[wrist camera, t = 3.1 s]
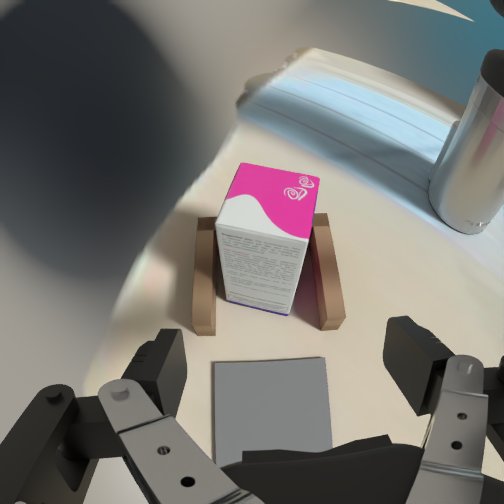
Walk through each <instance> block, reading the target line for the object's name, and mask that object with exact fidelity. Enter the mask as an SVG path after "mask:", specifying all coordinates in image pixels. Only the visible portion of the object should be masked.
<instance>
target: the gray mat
mask: <svg viewBox="0 0 504 504" xmlns="http://www.w3.org/2000/svg"><path fill="white" fill-rule="evenodd" d="M215 444H216V465H217V466H218V467H219V468H220V467H223V466H225V465H228V464H232V463H235V462H239V461H242V451H252V450H275V449H283V450H293V451H304V452H323V451H326V450H329V449H332V432H331V419H330V406H329V394H328V383H327V373H326V363H325V358H313V359H300V360H285V361H266V362H236V363H215Z"/></svg>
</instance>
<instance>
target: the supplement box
mask: <svg viewBox="0 0 504 504" xmlns="http://www.w3.org/2000/svg"><path fill="white" fill-rule="evenodd" d="M319 181H320V178H318V177H314V176H310V175H305V174H300V173H294V172H289V171H284V170H279V169H274V168H269V167H264V166H259V165H253V164H248V163H241V164H240V166H239V168H238V170H237V172H236V174H235V176H234V179H233V181H232V183H231V185H230V188H229V190H228V193H227V195H226V198H225V200H224V202H223V205H222V207H221V210H220V213H219V215H218V217H217V220H216V222H215V226H216V233H217V240H218V246H219V254H220V260H221V267H222V273H223V279H224V285H225V292H226V301H227V302H230V303H233V304H237V305H242V306H246V307H250V308H255V309H258V310H263V311H267V312H271V313H275V314H280V315H284V316H288V315H289V312H290V309H291V306H292V302H293V299H294V295H295V291H296V288H297V284H298V281H299V277H300V273H301V269H302V265H303V261H304V257H305V253H306V249H307V245H308V242H309V237H310V232H311V227H312V222H313V217H314V211H315V205H316V199H317V193H318V187H319Z"/></svg>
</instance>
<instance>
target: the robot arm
mask: <svg viewBox="0 0 504 504" xmlns="http://www.w3.org/2000/svg"><path fill="white" fill-rule="evenodd" d="M490 2H491V4H492V6H493V8H494V9H495V10H496V11H497V12H498V13H499V14H500V15H501V16H503V17H504V0H490ZM428 178H429V180H430V186H429V190H428V195H429V200H430V202H431V205H432V207H433V208H434V210H435V211H436V213H437V214H438V215H439V216H440V218H441V219H442V220H443V221H445V222H446V223H447V224H448V225H449V226H451V227H452V228H454V229H456V230H458V231H460V232H463V233H466V234H478V233H480V232H482V231H483V230H484V229H485V228H486V226H487V225H488V224H489V223H490V221H491V220H492V218H493V217H494V216H495V215H496V213H497V212H498V211H499V209H500V208H501V207H502V205H503V204H504V50H499V49H493V50H490V51H489V52H488V53H487V54H486V56H485V58H484V61H483V63H482V66H481V69H480V73H479V76H478V78H477V81H476V84H475V86H474V89H473V92H472V94H471V97H470V99H469V102H468V104H467V107H466V109H465V111H464V114H463V116H462V118H461V121H455V122H454V123H453V125H452V127H451V129H450V132H449V134H448V136H447V139H446V141H445V143H444V145H443V147H442V150H441V152H440V154H439V156H438V158H437V160H436V163H435V165H434V167H433V169H432V171H431V173H430V175H429V177H428ZM383 362H384V365H385V367H386V369H387V370H388V372H389V373H390V375H391V376H392V378H393V380H394V381H395V383H396V384H397V386H398V387H399V389H400V390H401V392H402V393H403V395H404V396H405V398H406V399H407V401H408V402H409V404H410V405H411V407H412V409H413V410H414V412H415V413H416V415H417V416H422V415H425V414H429V413H430V414H431V417H430V420H429V423H428V426H427V429H426V432H425V435H424V438H423V441H422V444H421V447H417V446H413V445H407V444H397V443H392V442H391V440H390V438H389V436H388V434H387V435H382V436H377V437H372V438H366V439H361V440H355V441H352V442H349V443H347V444H344V445H341V446H338V447H335V448H332V449H329V450H326V451H323V452H304V451H293V450H283V449H275V450H252V451H242V461H239V462H235V463H232V464H228V465H225V466H223V467H220V468H219V467H218V466H217V465H216V464H215V463H214V462H213V461H212V460H211V459H210V458H209V457H208V456H207V455H206V454H205V453H204V452H203V450H202V449H201V448H200V447H199V446H198V445H197V444H196V443H195V442H194V441H193V439H192V438H191V437H190V436H189V435H188V434H187V433H186V431H185V430H184V429H183V428H182V427H181V426H180V425H179V423H178V422H177V421H176V420H175V418H176V414H177V411H178V407H179V404H180V400H181V397H182V393H183V390H184V386H185V383H186V379H187V362H186V355H185V349H184V342H183V335H182V331H181V329H161V330H160V332H159V333H158V335H157V337H156V339H155V341H147V342H146V343H145V344H143V345H142V346H140V347H139V349H138V350H137V352H136V354H135V356H134V357H133V359H132V360H131V362H130V364H129V365H128V367H127V369H126V370H125V372H124V374H123V375H122V377H121V379H117V380H113V381H110V382H108V383H106V384H104V385H103V386H102V387H101V388H100V389H99V392H98V396H90V397H79V398H76V396H75V394H74V391H73V389H72V388H71V387H69V386H67V385H63V384H56V385H51V386H48V387H45V388H43V389H42V390H40V391H39V392H38V393H37V395H36V396H35V397H34V399H33V400H32V401H31V403H30V404H29V405H28V407H27V408H26V409H25V411H24V412H23V413H22V415H21V416H20V418H19V419H18V420H17V422H16V423H15V425H14V426H13V427H12V429H11V430H10V431H9V433H8V434H7V436H6V437H5V439H4V440H3V441H2V443H1V444H0V504H83V502H84V499H85V496H86V493H87V490H88V488H89V485H90V482H91V479H92V477H93V474H94V471H95V468H96V466H97V463H98V461H99V458H112V457H122V458H123V460H124V462H125V464H126V466H127V468H128V469H129V471H130V473H131V475H132V476H133V478H134V480H135V481H136V483H137V485H138V486H139V488H140V490H141V491H142V493H143V495H144V496H145V498H146V500H147V501H148V503H149V504H504V482H503V481H500V480H497V479H495V478H492V477H490V476H487V475H484V474H482V473H481V469H482V462H483V455H484V447H485V437H486V436H487V437H488V439H489V440H490V442H491V443H492V445H493V446H494V448H495V449H496V451H497V452H498V454H499V455H500V457H501V458H502V460H503V461H504V356H502V358H501V361H500V364H499V367H492V368H484V367H483V364H482V363H481V361H479V360H478V359H476V358H475V357H472V356H468V355H455V354H454V353H453V352H452V351H451V350H450V349H449V348H448V347H446V346H445V345H444V344H443V343H441V341H440V340H439V339H438V338H436V336H435V335H434V334H433V333H432V332H430V331H429V330H427V329H425V328H423V327H421V326H418V325H417V324H416V323H415V322H414V321H413V320H412V319H411V318H410V317H409V316H399V317H391V318H389V319H388V322H387V328H386V335H385V342H384V349H383ZM57 449H58V450H57Z"/></svg>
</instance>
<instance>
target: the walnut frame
mask: <svg viewBox="0 0 504 504" xmlns="http://www.w3.org/2000/svg"><path fill="white" fill-rule="evenodd" d="M216 220H217V217H205V218H198V226H197V239H196V252H195V267H194V284H193V303H192V326H193V328H194V329H195V331H196V333H197V335H198V336H215V335H216V273H217V248H219V246H218V240H217V233H216V226H215V222H216ZM308 245H310V252H311V259H312V265H313V272H314V280H315V287H316V295H317V302H318V310H319V318H320V327H321V331H325V330H337V329H338V328H339V327H340V325H341V324H342V322H343V321H344V319H345V318H346V314H345V308H344V302H343V296H342V290H341V284H340V278H339V272H338V267H337V261H336V256H335V251H334V246H333V241H332V236H331V231H330V226H329V221H328V216H327V213H318V214H314V217H313V222H312V227H311V232H310V237H309V242H308Z"/></svg>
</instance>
